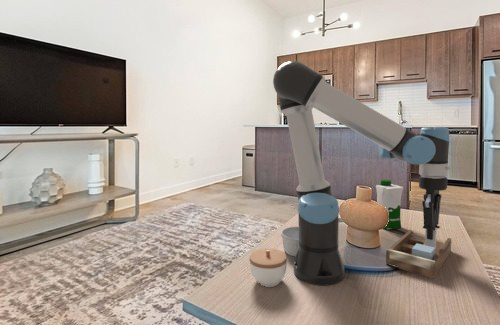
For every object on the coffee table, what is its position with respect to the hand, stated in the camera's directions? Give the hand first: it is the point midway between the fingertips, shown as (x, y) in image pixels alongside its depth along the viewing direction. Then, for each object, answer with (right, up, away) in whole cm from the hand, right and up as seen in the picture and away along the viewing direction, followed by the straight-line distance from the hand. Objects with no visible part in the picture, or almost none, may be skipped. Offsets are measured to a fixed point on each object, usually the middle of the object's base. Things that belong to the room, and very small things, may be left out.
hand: (430, 247), depth 92 cm
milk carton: (+2, 0, +31) cm, 31 cm away
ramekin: (-41, -4, +10) cm, 42 cm away
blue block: (-6, -2, -5) cm, 8 cm away
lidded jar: (-53, -7, -9) cm, 55 cm away
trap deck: (-2, -4, +2) cm, 5 cm away
